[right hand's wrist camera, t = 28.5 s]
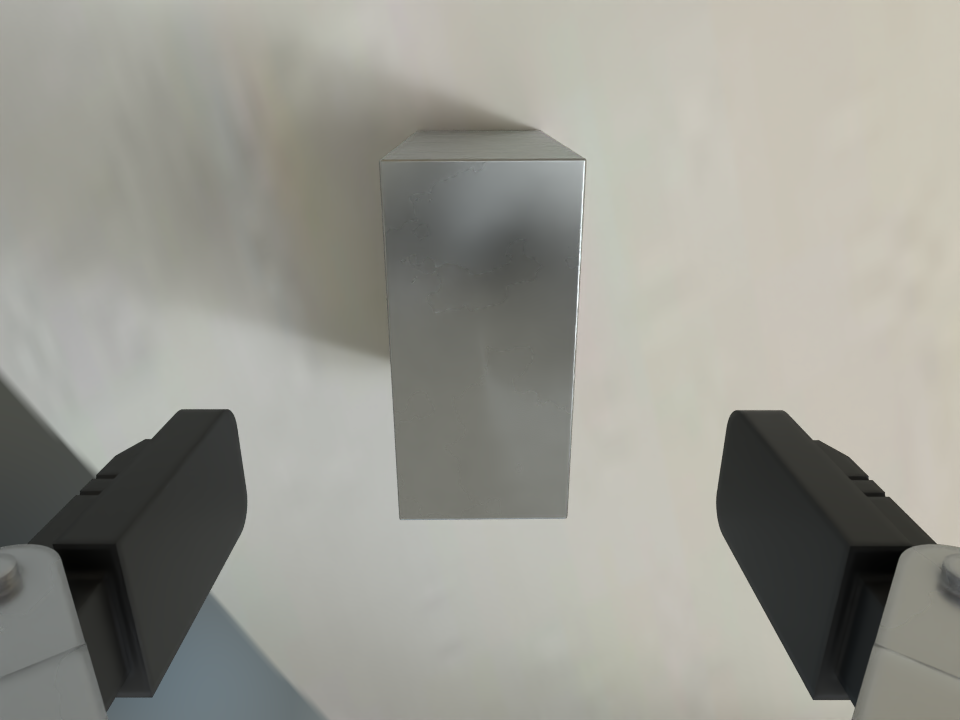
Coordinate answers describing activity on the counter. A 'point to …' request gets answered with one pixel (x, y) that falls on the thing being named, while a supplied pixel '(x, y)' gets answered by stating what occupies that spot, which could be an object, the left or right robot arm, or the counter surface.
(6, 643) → the right robot arm
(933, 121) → the counter surface
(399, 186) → the block
